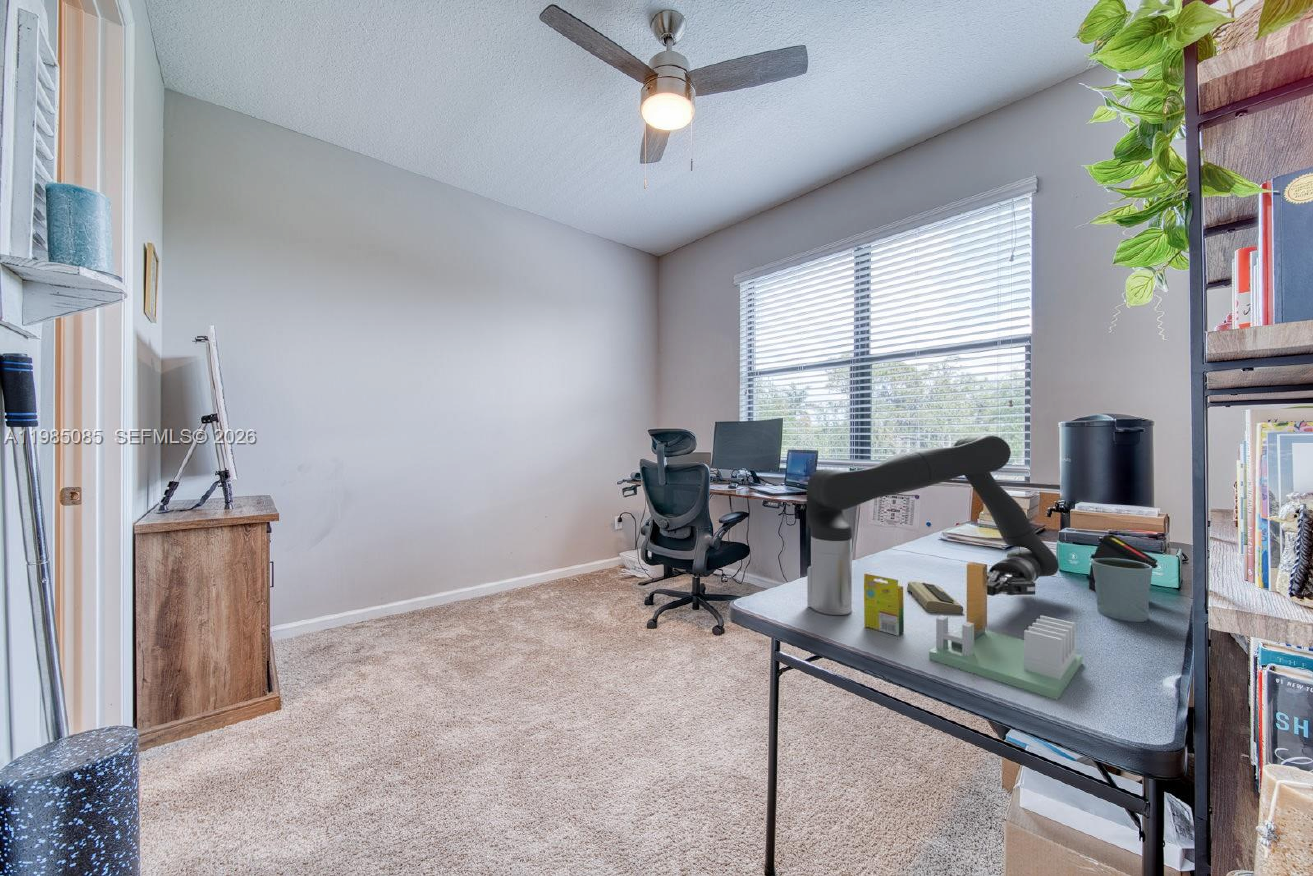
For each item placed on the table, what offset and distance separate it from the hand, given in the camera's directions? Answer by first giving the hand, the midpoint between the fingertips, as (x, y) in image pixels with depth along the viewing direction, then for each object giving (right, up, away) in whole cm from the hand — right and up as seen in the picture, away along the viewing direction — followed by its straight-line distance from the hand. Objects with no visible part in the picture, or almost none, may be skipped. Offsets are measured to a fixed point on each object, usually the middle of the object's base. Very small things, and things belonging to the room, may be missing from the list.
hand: (989, 590), depth 107 cm
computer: (-2, -9, +18) cm, 21 cm away
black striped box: (+48, -8, +22) cm, 54 cm away
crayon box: (-22, -9, +1) cm, 24 cm away
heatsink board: (-7, -9, -14) cm, 18 cm away
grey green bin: (+36, -8, +9) cm, 38 cm away
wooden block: (-9, -7, -8) cm, 14 cm away
